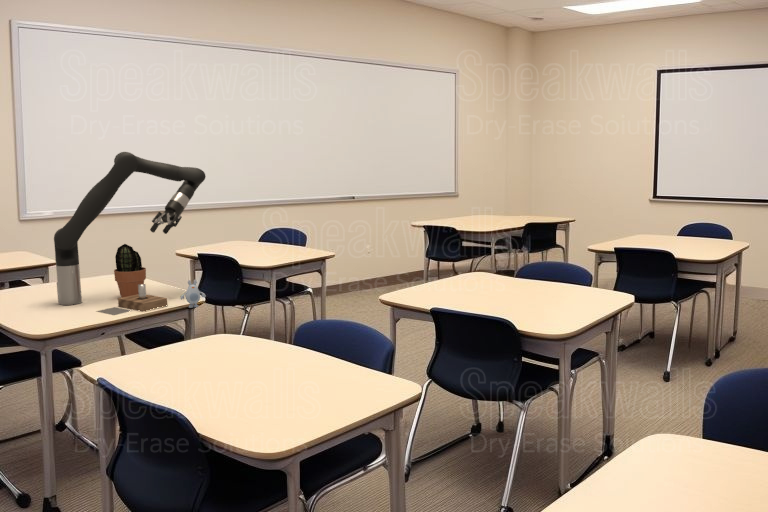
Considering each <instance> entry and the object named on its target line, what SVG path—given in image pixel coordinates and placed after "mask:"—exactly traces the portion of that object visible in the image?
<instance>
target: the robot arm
mask: <svg viewBox="0 0 768 512" xmlns="http://www.w3.org/2000/svg"><path fill="white" fill-rule="evenodd" d="M134 173H142V174H147V175H151V176H155V177H156V178H157V177H158V178H160V179H165V180H168V181H173V182H182V184H181V185H180V186H179V187H178V188H177V191H175V193H174V194H172V197H171V198H170V199H169V201H168V202H167V203H166V205H165V207H164V211H163V212H161V211H159V212H157V213H156V215H155V216H154V217H153V218H152V220H151V222H152V223H153V224H152V225H151V227H150V229H149V231H150V232H151V233H156V230H157V229H158V228H159V226H161V225H164V224H166V223H167V224H166V225H165V226H164V228H163V229H162V233H163V234H164V235H165V234H166V235H167V234H168V233H169V232H170V230H171V229H172V228H173V227H174V228H175V227H177V226H178V225H179V222H180V221H181V220H182V214H183V212H184V211H185V209H186V208H187V206H188V204H189V202H190V201H191V199H192V198H193V196H194V194H195V192H196V190H197V189H198V188H199V186H200V185H202V183H203V182H204V181H205V179H206V173H205V171H203V170H202V169H201V168H198V167H193V166H192V167H190V166H179V165H175V164H171V163H164V162H159V161H154V160H149V159H145V158H142V157H139V156H136V155H135V154H134V153H131V152H128V151H120V152H119V153H117V154H116V155H115V156H114V158H113V166H112V167H111V168H110V170H109V172H108V173H107V174H106V175H105V176H104V177H103V178H102V179H100V180H99V181H98V182H97V183H96V184H95V185H93V186H92V187H91V189H90V190H89V191H88V192H87V194H86V195H85V196H84V197H83V199H82V200H81V201H80V203H79V205H78V206H77V208H76V210H75V212H74V213H73V215H72V217H71V218H70V219H69V220H68V221H67V222H66V224H65V225H64V226H63V227H61V228H59V229H58V230H56V232H55V233H54V236H53V244H54V254H55V255H54V257H55V266H56V267H55V270H56V280H57V281H56V290H57V291H56V292H57V302H58V304H59V305H60V306H72V305H73V304H74V305H78V304H81V303H82V302H83V299H82V298H83V297H82V284H81V271H80V269H81V268H80V257H79V244H78V243H79V242H78V241H79V240H80V238H81V237H82V235H83V234H84V233H85V230H86V229H87V228H88V227H89V226H90V225H91V224H92V223H93V222H94V221H96V220H95V219H97V218H98V216H99V215H100V214H101V213H102V212H103V211H104V210H105V208H106V207H107V205H108V204H109V203H110V202H111V201H112V199H113V198H114V196H115V195H116V193H117V192H118V191H119V188H120V187H121V186H122V185H123V184H124V183H125V181H126V180H127V179H128V178H129V177H130V176H131V175H132V174H134ZM74 305H73V306H74Z"/></svg>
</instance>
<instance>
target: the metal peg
mask: <svg viewBox="0 0 768 512" xmlns="http://www.w3.org/2000/svg"><path fill="white" fill-rule="evenodd" d="M146 289H147V286H146V283H144V284H139V285H138V292H139V300H144V299H146V294H147V290H146Z"/></svg>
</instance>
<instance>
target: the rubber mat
mask: <svg viewBox="0 0 768 512" xmlns="http://www.w3.org/2000/svg"><path fill="white" fill-rule="evenodd" d="M130 310H131V309H127V308H122V307H116V306H114V307H110V308H105V309H100V310H96V311H95V312H97V313H101V314H106V315H112V316H117V315H120V314H125V313H129V311H130ZM130 312H131V311H130Z"/></svg>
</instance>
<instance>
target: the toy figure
mask: <svg viewBox="0 0 768 512" xmlns="http://www.w3.org/2000/svg"><path fill="white" fill-rule="evenodd" d="M197 283H198V281H197V279H194V280H193V283H192V281H191V280H190V279H188V281H187V284H188V287H187V288H186V292H185V293H183V294H182V295H181V296H180V298H179V299H180V301H181V300H183V299H185V300H186V302H187V303H188V304H189V305H188V308H189V309H192V308H199V305H198V303H199V302H200V300H201V297H202V298H203V299H204V298H206V297H207V295H206V294H205V293H204V292H202V291H200V289H199V288H198V286H197Z"/></svg>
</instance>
